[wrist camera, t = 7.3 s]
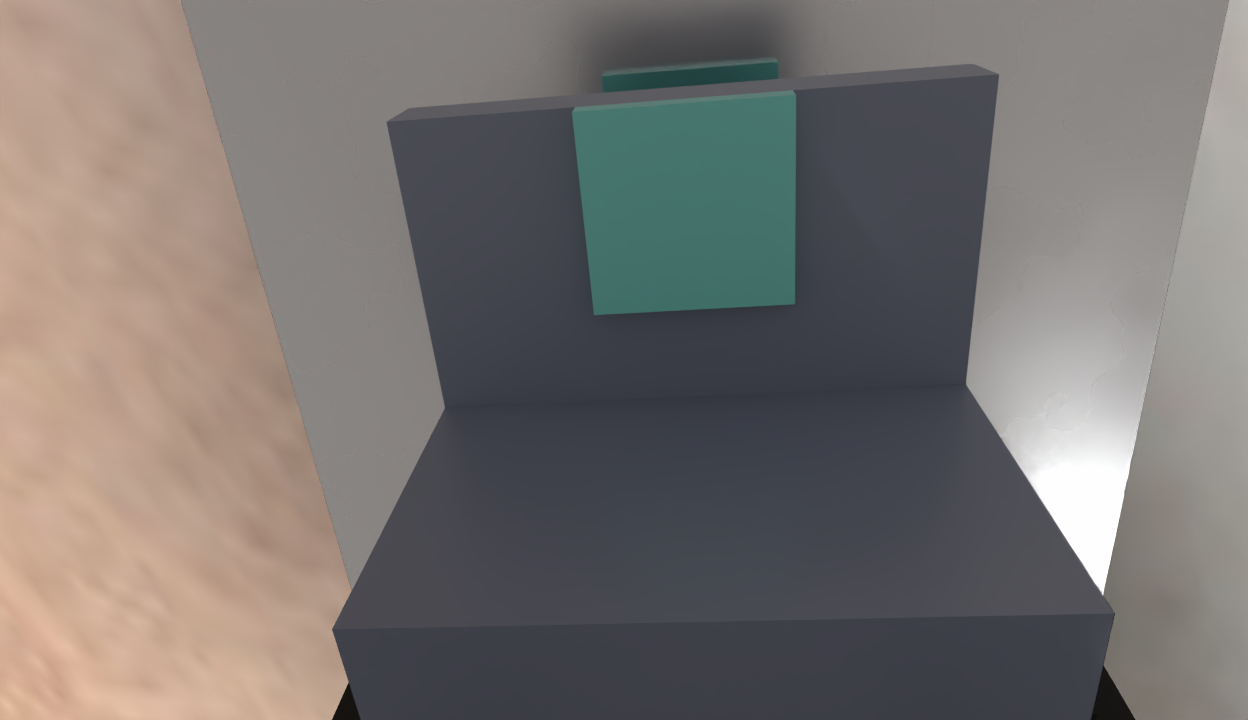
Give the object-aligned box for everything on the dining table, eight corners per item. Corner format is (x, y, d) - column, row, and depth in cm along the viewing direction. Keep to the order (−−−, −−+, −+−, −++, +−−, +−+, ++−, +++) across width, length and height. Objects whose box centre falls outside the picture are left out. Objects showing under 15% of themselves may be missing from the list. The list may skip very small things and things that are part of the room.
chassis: (1209, -342, 11) (1328, -409, 9) (1021, 736, 20) (1060, 825, 18) (192, -221, 12) (96, -254, 10) (439, 739, 21) (413, 823, 19)
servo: (903, 36, 8) (1350, 217, 3) (858, 815, 14) (983, 1421, 8) (469, 71, 9) (101, 292, 3) (587, 814, 14) (525, 1392, 8)
